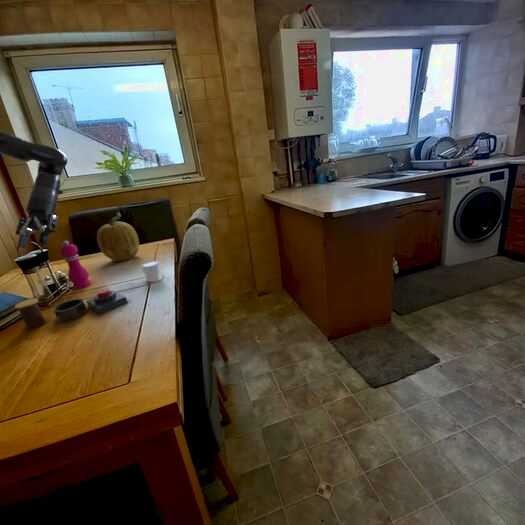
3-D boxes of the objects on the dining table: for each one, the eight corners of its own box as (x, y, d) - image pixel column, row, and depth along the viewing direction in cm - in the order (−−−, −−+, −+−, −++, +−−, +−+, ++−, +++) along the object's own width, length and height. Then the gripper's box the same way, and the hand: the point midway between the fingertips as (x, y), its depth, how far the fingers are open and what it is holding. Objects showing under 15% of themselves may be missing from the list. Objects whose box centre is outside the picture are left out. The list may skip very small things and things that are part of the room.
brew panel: (101, 314, 91) (97, 304, 89) (88, 306, 98) (84, 296, 96) (127, 302, 97) (124, 292, 96) (114, 296, 104) (110, 286, 103)
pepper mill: (90, 280, 123) (74, 237, 116) (93, 284, 118) (76, 239, 111) (71, 286, 119) (53, 241, 112) (73, 291, 113) (55, 244, 107)
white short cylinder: (155, 275, 120) (151, 260, 117) (166, 277, 116) (162, 261, 114) (142, 281, 114) (137, 266, 112) (153, 283, 111) (148, 267, 108)
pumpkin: (140, 260, 142) (126, 212, 134) (100, 268, 138) (83, 219, 130) (145, 250, 159) (132, 207, 151) (109, 257, 156) (94, 213, 147)
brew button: (101, 298, 94) (99, 294, 93) (97, 296, 96) (95, 292, 95) (112, 294, 96) (110, 289, 96) (107, 292, 99) (106, 287, 98)
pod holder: (62, 325, 87) (57, 314, 86) (54, 318, 93) (49, 307, 91) (90, 312, 93) (86, 302, 92) (81, 306, 98) (77, 296, 97)
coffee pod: (27, 331, 86) (16, 309, 83) (23, 326, 90) (12, 304, 87) (49, 322, 90) (39, 300, 87) (44, 317, 94) (35, 296, 91)
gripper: (15, 199, 94) (3, 244, 89) (48, 193, 91) (37, 239, 86) (38, 210, 101) (27, 251, 96) (69, 204, 98) (59, 247, 93)
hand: (31, 245), depth 91 cm, fingers open, 8 cm apart
